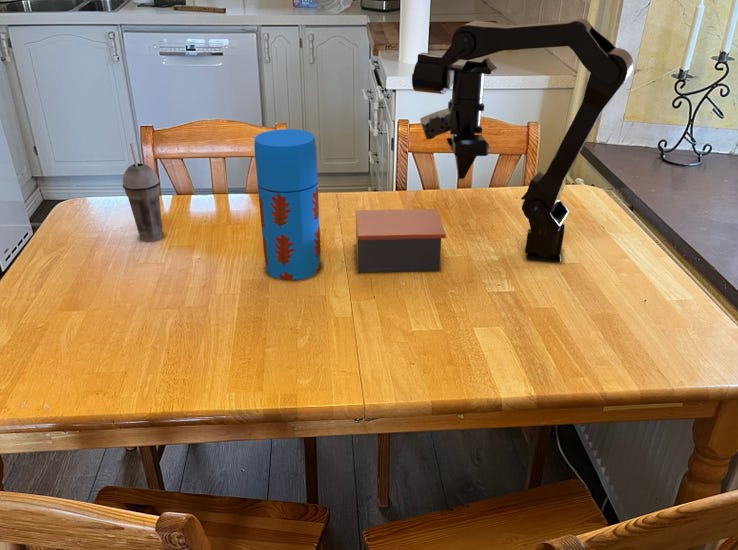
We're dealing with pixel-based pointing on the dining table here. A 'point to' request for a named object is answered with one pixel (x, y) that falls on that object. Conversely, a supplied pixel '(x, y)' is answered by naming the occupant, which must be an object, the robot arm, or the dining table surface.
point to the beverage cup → (144, 199)
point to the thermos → (289, 202)
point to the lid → (399, 224)
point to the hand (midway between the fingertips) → (461, 178)
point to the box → (398, 255)
